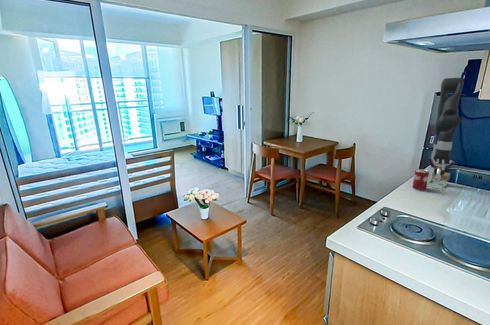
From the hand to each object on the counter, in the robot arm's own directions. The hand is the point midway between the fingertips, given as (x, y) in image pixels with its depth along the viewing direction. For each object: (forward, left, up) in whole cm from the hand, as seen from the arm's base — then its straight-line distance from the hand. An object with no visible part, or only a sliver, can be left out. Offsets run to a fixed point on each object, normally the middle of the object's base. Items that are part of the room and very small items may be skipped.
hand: (438, 174), depth 162 cm
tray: (0, 0, -7) cm, 7 cm away
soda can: (+13, -6, -8) cm, 16 cm away
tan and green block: (-11, -1, -7) cm, 14 cm away
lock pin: (0, 0, -5) cm, 5 cm away
